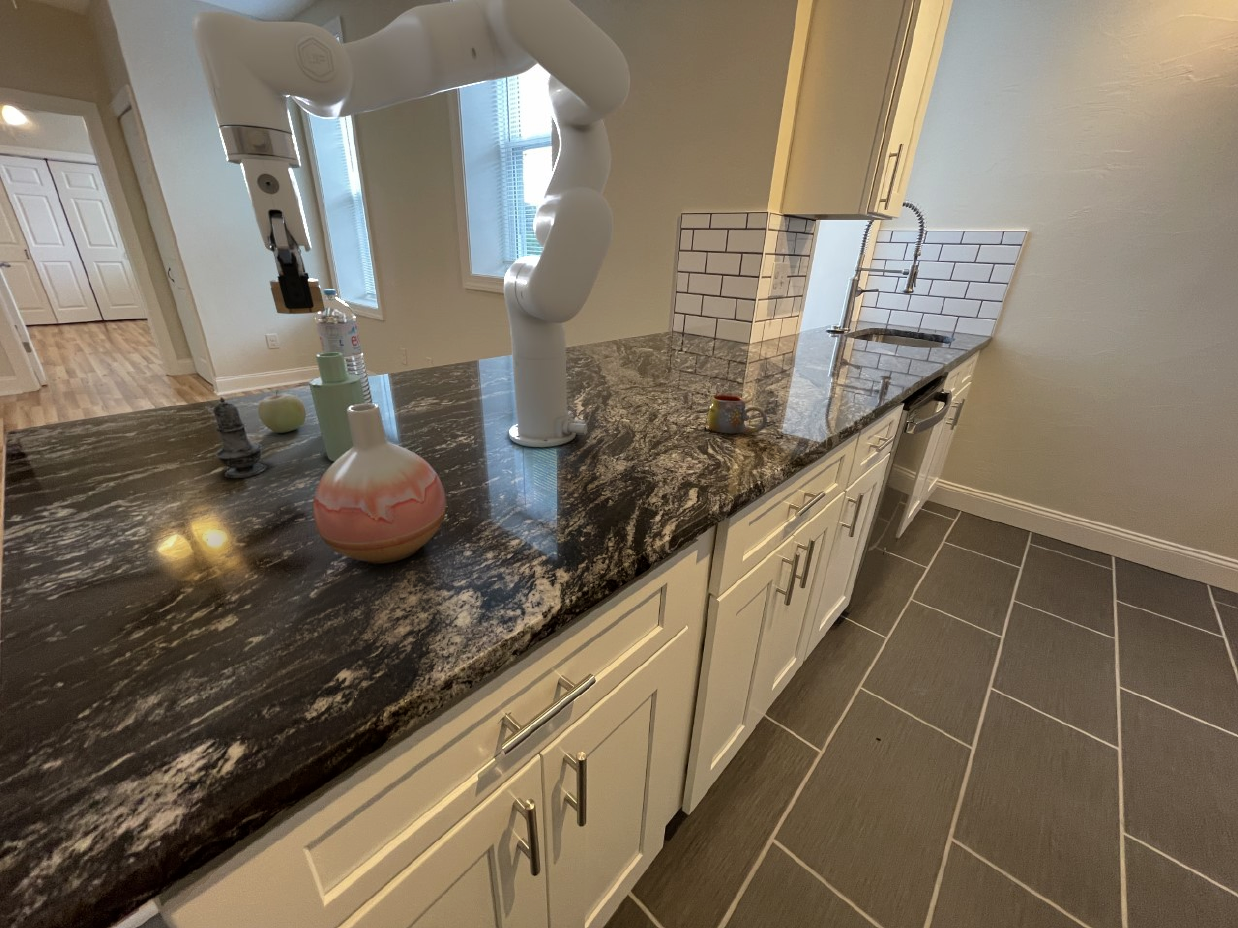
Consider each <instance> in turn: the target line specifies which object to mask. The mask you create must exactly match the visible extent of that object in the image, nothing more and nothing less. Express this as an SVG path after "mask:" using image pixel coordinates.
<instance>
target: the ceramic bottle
mask: <svg viewBox="0 0 1238 928" xmlns="http://www.w3.org/2000/svg"><path fill="white" fill-rule="evenodd" d="M315 359H316V362H317V366H318V371H319V374H320V375H319V376H318V377H314V378H312V379H310V380H309V381H308V386H309V389H310V393H311V397H312V401H313V405H314V409H315V413H316V417H317V421H318V425H319V429H320V433H321V437H322V440H323V445H324V448H325V452H326V456H327V459H328V460H329V461H331V462H333V463H334V462H335V461H336V460H337V459H338V458H339V457H341V456H342V455H343V454H344V453H346V452H347V451H348V450H350V449H351V448H352V447H353V441H352V435H351V430H350V425H349V420H348V415H347V409H348V408H349V407H351V406H353V405H357V404H364V403H365V399H364V394H363V389H362V384H361V379H360V376H358V375H353V374H347V371H346V367H345V362H344V357H343V354H342V353H339V352H328V353H323V352H322V353H317V354H316V355H315Z"/></svg>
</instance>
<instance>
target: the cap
mask: <svg viewBox="0 0 1238 928" xmlns="http://www.w3.org/2000/svg"><path fill="white" fill-rule="evenodd" d="M308 283H309V287H310V291H311V296H312V300H313V304H314V306H313V308H304V309H287V308H286V307H285V303H284V300H283V296H282V292H281V288H280V284H279V281H278V279H272V280H269V284H270V291H271V294H272V298H273V299H272V300H273V302H274V306H275V310H276V313H277V314H283V315H284V314H285V315H303V314H304V315H305V314H314V313H316V312H323V311H325V307H324V302H323V300H324V299H323V293H322V290H321V286H320V282H319V279H315V278H309V279H308Z"/></svg>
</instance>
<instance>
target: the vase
mask: <svg viewBox="0 0 1238 928" xmlns="http://www.w3.org/2000/svg"><path fill="white" fill-rule="evenodd" d="M347 415H348V420H349V425H350V430H351V435H352V441H353V447H352V448H351V449H350V450H348V451H347V452H346V453H344V454H343V455H342V456H341V457H339V458H338V459H337V460H336V461H335V462H334V461H333V463H332V464H331V465H330V466H329V467H328V468H327V470H325V472H324V473H323V475H322V476H321V478H320V479H319V482H318V484H317V486H316V489H315V491H314V496H313V503H312V504H313V505H312V512H313V513H312V514H313V516H312V517H313V521H314V525H315V527H316V530H317V533H318V534H319V537H320V538H321V539H322V540H323V542H324V544H326V545H327V546H328V547H329V548H331V549H332V550H334V551H335V552H336V553H338V554H340V555H342V556H343V557H346V558H349V559H352V560H356V561H360V562H361V561H362V562H364V563H368V564H375V565H378V564H379V565H381V564H382V565H383V564H389V563H395V562H399V561H402V560H404V559H407V558H409V557H410V556H412V555H414V554H416V553H417V552H418V551H419V550H420V549H421V548H422V547H423V546H425V545H426V544H427V543H428V542H430V540H432V539H433V537H434V536H435V535H436V534H437V532H438V531H439V529H440V528H441V526H442V524H443V522H444V519H445V516H446V512H447V495H446V491H445V488H444V485H443V483H442V480H441V477H440V476H439V474H438V473H437V471H436V470H435V469H434V467H432V465H430V463H429V462H428V461H427V460H425V459H424V458H423V457H421V456H420V455H418V454H417V453H415V452H414V451H411V450H409V449H408V448H406V447H403V446H401V445H397V444H394V443H392V442H390V441H388V440H387V436H386V432H385V427H384V423H383V418H382V413H381V408H380V406H379V405H378V404H376V403H373V404H372V403H364V404H357V405H353V406H351V407H349V408H348V409H347Z"/></svg>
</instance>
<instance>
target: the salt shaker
mask: <svg viewBox="0 0 1238 928" xmlns="http://www.w3.org/2000/svg"><path fill="white" fill-rule="evenodd" d="M212 411H213V414H214V417H215V420H216V423H217V427H216V428H215V429H216V431H217V432H219V433H220V437H221V439H222V445H223V446H222V448H220V449H218V450H217V451H216V452H215V454H214V456H215V457H216V458H218V459H219V461H220V462H221V463H222V464H223V465H224V466H225V467H228V468H229V469H228V470H226V472H225V473H224V477H226V478H227V479H245V478H250V477H253V476H256V475H258V474H259V475H260V474H261V473H263V472H264V471H266V469H267V466H266V464H264V463H260V462H259V460H260V459H261V458H262V449H263V445H262V444H260V443H256V442H251V440H250V438H249V437H248V434H247V432H246V429H245V427H247V424H246V423H244V422H243V420H242V418H241V415H240V411H239V409H238V406H237V405H236V404H234V403H232V402H226V399H225V398H223V397H220V399H219V403H218V404H217V405H215V406H214V407H213V410H212Z"/></svg>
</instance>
